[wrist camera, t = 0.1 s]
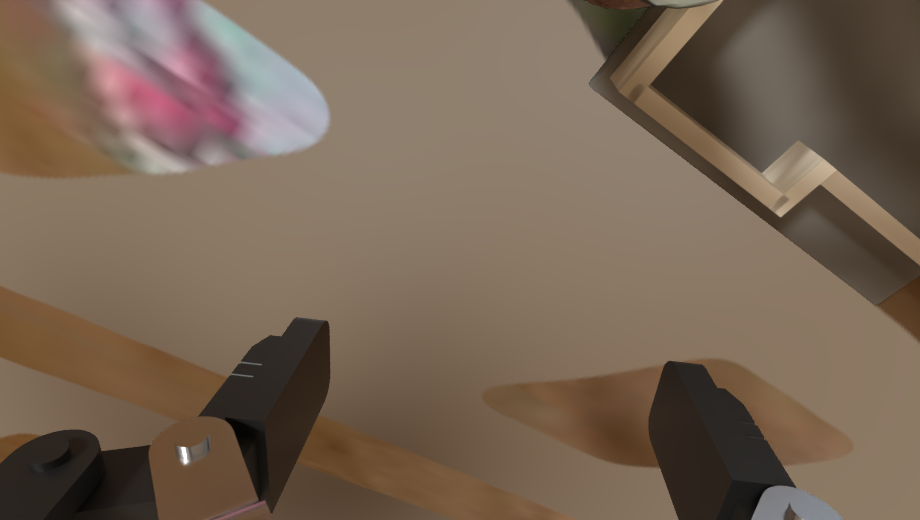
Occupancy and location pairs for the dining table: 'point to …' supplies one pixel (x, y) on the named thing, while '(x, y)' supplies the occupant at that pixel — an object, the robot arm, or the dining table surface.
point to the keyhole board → (792, 119)
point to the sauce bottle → (649, 3)
